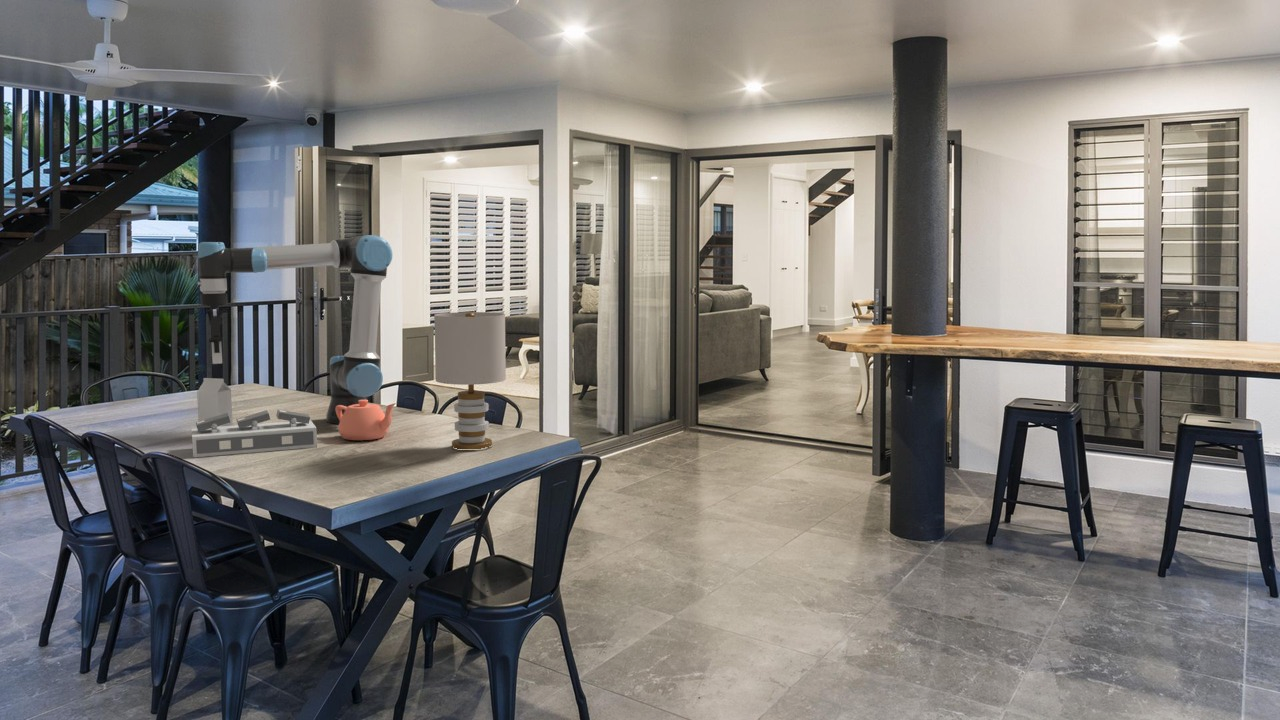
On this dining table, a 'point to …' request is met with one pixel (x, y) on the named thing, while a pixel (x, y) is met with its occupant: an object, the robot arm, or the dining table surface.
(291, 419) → the plate
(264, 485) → the dining table surface
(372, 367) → the robot arm
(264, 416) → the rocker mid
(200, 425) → the rocker
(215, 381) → the milk carton
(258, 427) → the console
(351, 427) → the teapot
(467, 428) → the lamp
